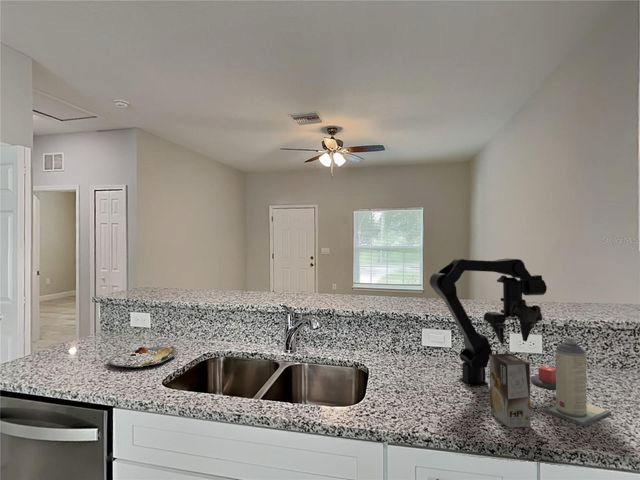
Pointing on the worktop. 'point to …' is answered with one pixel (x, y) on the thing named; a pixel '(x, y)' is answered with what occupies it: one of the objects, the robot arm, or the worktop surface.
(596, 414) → the game board
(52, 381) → the worktop surface
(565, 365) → the aerosol can
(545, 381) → the red die on its tray
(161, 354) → the food plate
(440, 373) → the worktop surface
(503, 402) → the coffee box
